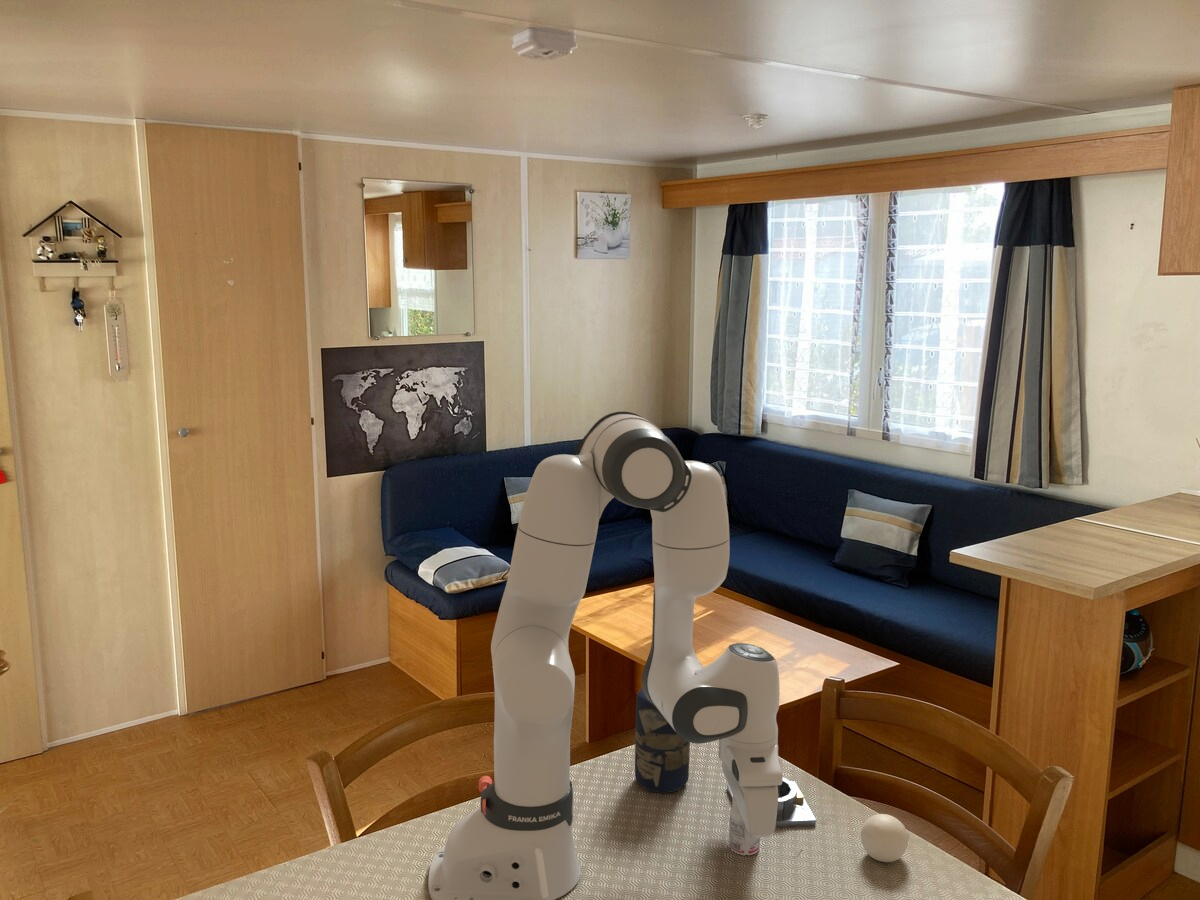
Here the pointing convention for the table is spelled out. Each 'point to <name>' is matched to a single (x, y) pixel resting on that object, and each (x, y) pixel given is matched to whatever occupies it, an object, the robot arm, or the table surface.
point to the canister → (658, 750)
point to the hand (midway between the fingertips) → (744, 829)
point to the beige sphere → (884, 837)
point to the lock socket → (790, 806)
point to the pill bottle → (739, 834)
